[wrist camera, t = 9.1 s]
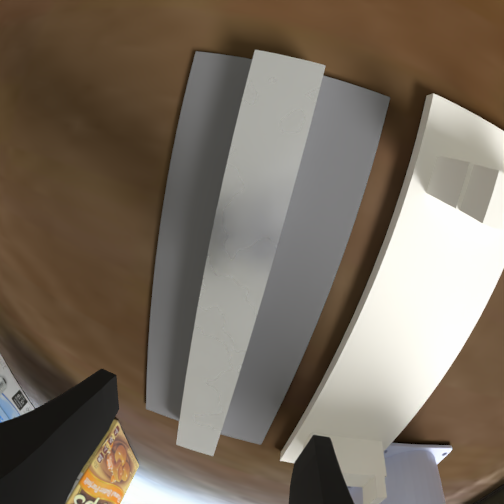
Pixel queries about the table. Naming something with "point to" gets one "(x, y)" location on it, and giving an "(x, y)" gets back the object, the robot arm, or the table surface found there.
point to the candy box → (106, 471)
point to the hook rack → (414, 295)
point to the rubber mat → (288, 249)
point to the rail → (245, 235)
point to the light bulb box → (11, 395)
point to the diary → (493, 497)
